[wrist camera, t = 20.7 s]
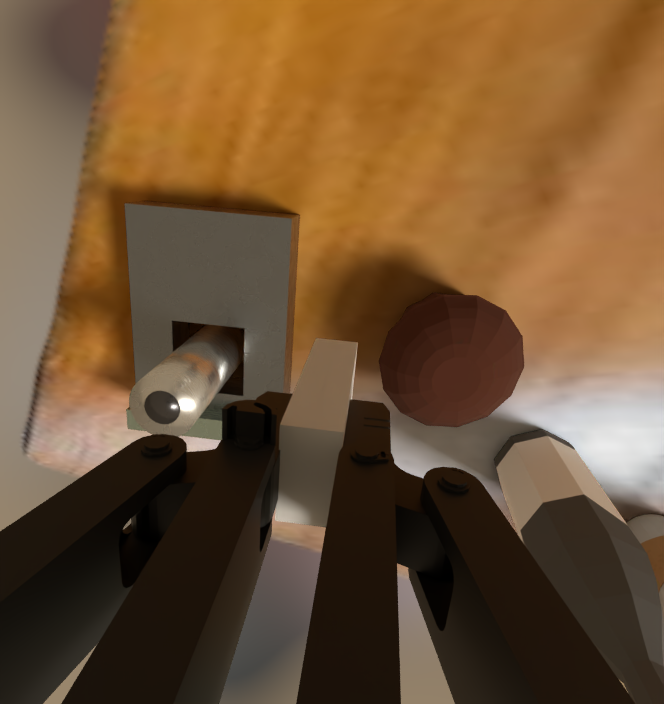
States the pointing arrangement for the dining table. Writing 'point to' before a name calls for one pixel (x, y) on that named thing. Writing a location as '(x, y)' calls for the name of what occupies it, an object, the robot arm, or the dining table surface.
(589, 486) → the wine bottle
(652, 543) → the coffee cup
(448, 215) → the dining table surface
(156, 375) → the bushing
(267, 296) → the jig
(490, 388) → the muffin
